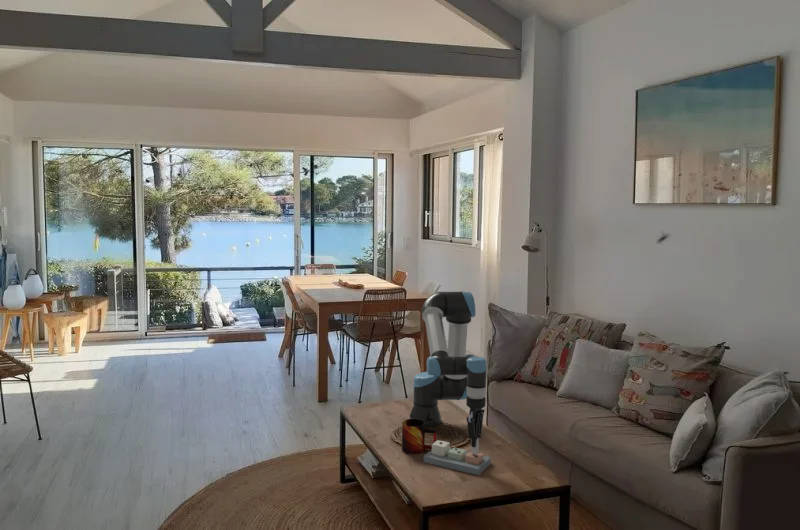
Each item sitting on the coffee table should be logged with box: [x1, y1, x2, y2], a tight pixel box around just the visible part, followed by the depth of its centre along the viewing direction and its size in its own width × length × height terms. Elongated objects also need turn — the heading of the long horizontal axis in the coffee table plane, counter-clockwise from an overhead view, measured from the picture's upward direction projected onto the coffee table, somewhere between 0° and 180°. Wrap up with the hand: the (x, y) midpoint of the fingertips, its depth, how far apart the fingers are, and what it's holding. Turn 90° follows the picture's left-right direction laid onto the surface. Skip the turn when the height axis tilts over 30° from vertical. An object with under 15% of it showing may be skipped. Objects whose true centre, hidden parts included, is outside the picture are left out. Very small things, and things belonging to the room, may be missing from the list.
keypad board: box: [423, 447, 492, 476], centre depth 262 cm, size 13×24×2 cm, turn 60°
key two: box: [448, 447, 467, 461], centre depth 262 cm, size 6×6×4 cm
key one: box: [431, 439, 451, 457], centre depth 265 cm, size 6×6×4 cm
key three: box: [465, 450, 485, 465], centre depth 258 cm, size 6×6×4 cm
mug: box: [401, 418, 437, 455], centre depth 274 cm, size 10×14×12 cm
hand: (474, 453), depth 258 cm, fingers closed
